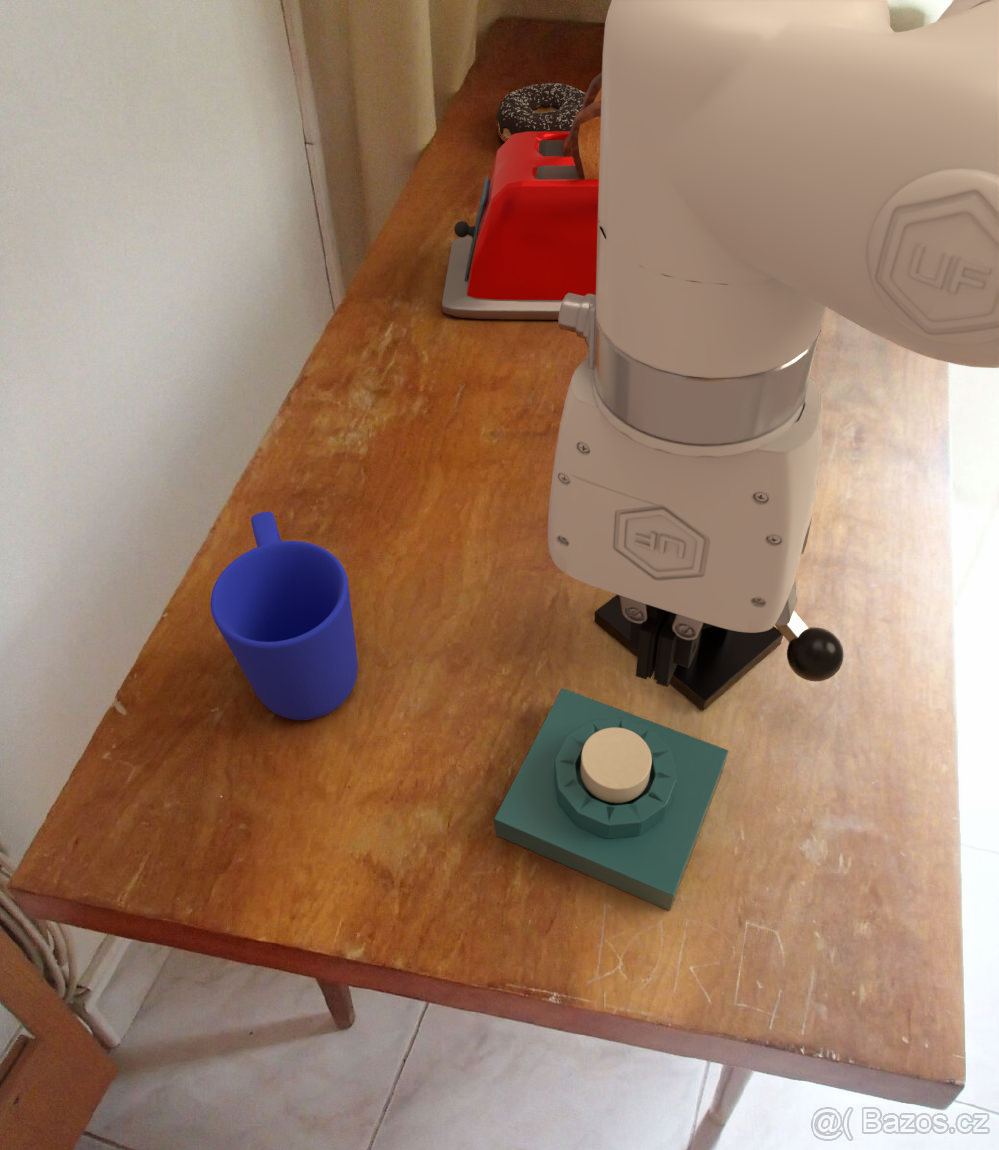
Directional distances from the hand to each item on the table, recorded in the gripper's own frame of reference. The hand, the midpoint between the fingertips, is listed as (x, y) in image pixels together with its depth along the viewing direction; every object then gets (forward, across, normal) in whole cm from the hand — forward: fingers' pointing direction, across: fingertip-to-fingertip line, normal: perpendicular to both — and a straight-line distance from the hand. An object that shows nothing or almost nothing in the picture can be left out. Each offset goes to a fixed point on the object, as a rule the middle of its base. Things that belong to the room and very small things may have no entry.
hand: (661, 659), depth 48 cm
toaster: (+15, -22, +51) cm, 57 cm away
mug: (+15, -25, +1) cm, 29 cm away
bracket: (+15, -2, +14) cm, 20 cm away
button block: (+15, -2, 0) cm, 15 cm away
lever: (+8, +2, +12) cm, 14 cm away
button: (+12, -2, -1) cm, 12 cm away
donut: (+15, -40, +76) cm, 87 cm away
